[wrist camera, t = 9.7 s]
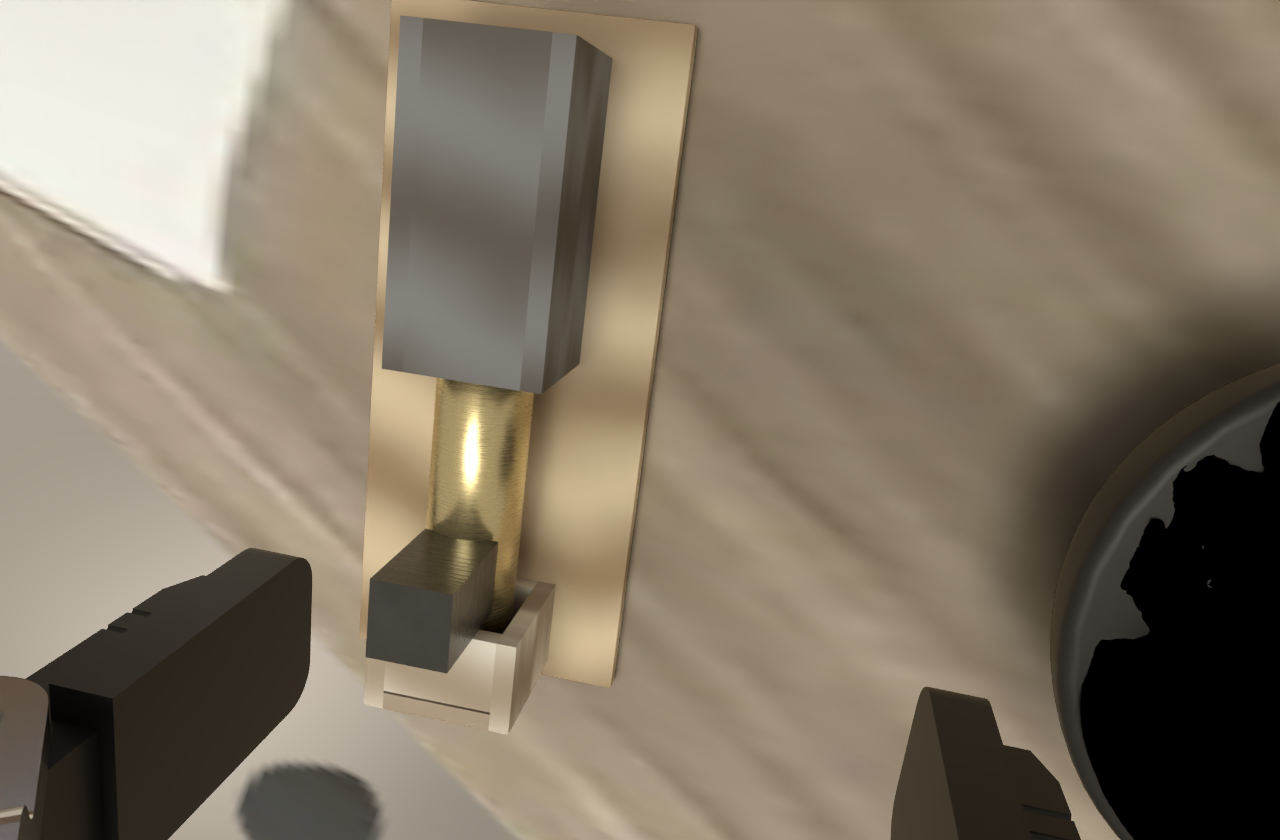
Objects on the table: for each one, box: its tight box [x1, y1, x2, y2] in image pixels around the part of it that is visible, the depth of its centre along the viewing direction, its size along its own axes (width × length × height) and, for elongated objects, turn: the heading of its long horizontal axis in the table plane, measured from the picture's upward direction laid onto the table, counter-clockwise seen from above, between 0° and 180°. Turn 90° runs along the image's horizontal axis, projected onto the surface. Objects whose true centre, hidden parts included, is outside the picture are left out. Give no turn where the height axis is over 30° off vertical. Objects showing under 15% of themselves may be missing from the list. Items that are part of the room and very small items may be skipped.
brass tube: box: [366, 378, 534, 674], centre depth 36 cm, size 17×4×8 cm, turn 173°
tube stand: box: [359, 0, 698, 735], centre depth 38 cm, size 28×12×7 cm, turn 173°
